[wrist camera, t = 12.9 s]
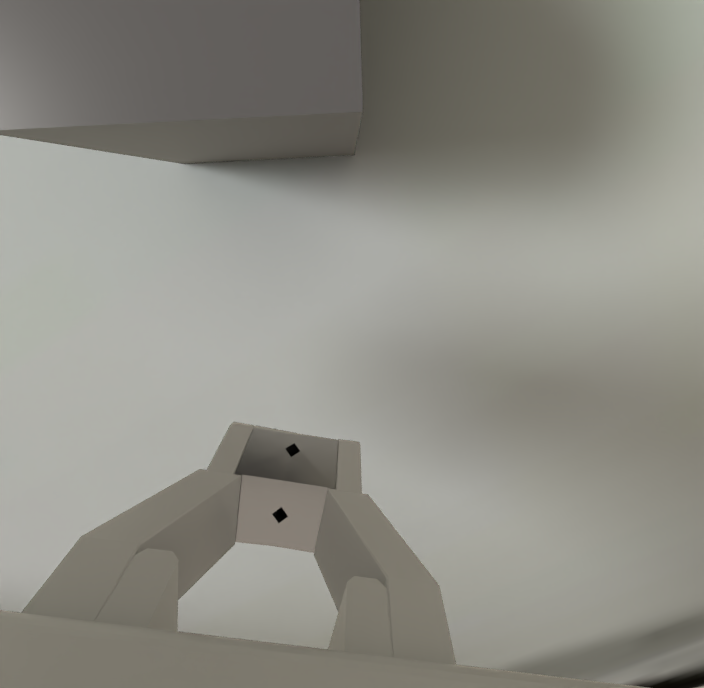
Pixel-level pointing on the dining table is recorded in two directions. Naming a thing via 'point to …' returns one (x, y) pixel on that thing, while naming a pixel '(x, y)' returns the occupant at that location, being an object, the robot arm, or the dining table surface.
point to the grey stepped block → (184, 77)
